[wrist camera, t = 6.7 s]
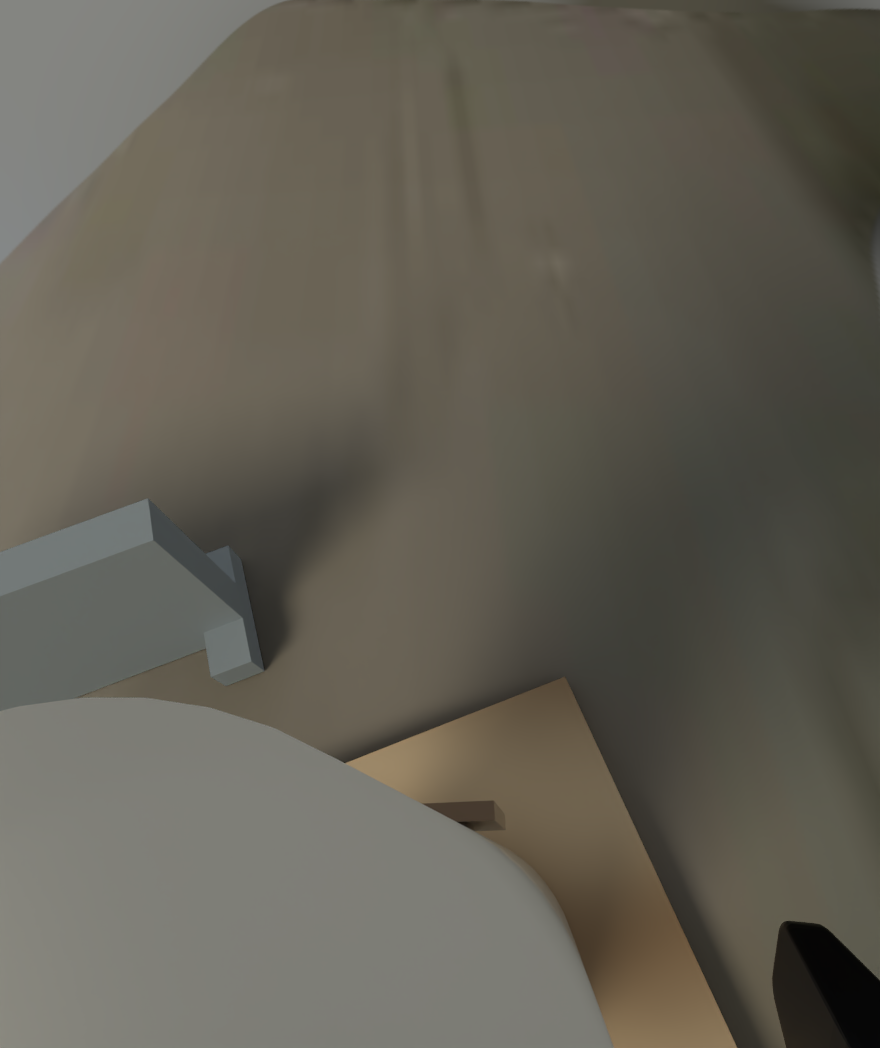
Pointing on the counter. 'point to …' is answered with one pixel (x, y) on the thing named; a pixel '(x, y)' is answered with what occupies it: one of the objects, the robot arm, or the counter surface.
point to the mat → (570, 854)
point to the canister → (259, 897)
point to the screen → (118, 607)
